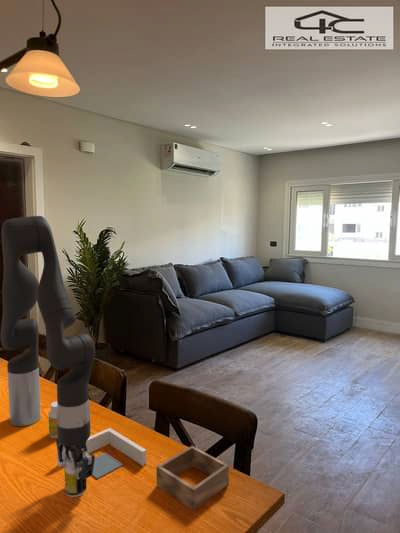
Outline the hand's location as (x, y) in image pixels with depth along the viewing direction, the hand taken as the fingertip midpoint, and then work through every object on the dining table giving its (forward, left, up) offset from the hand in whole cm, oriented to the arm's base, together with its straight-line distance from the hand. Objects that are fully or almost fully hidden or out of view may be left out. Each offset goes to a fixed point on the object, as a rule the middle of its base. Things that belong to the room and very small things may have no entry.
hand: (75, 485), depth 96 cm
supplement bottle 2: (0, 0, -2) cm, 2 cm away
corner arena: (-4, +10, -1) cm, 11 cm away
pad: (-4, +10, -1) cm, 11 cm away
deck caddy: (+19, +21, -1) cm, 28 cm away
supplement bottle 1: (-27, +10, -2) cm, 29 cm away
